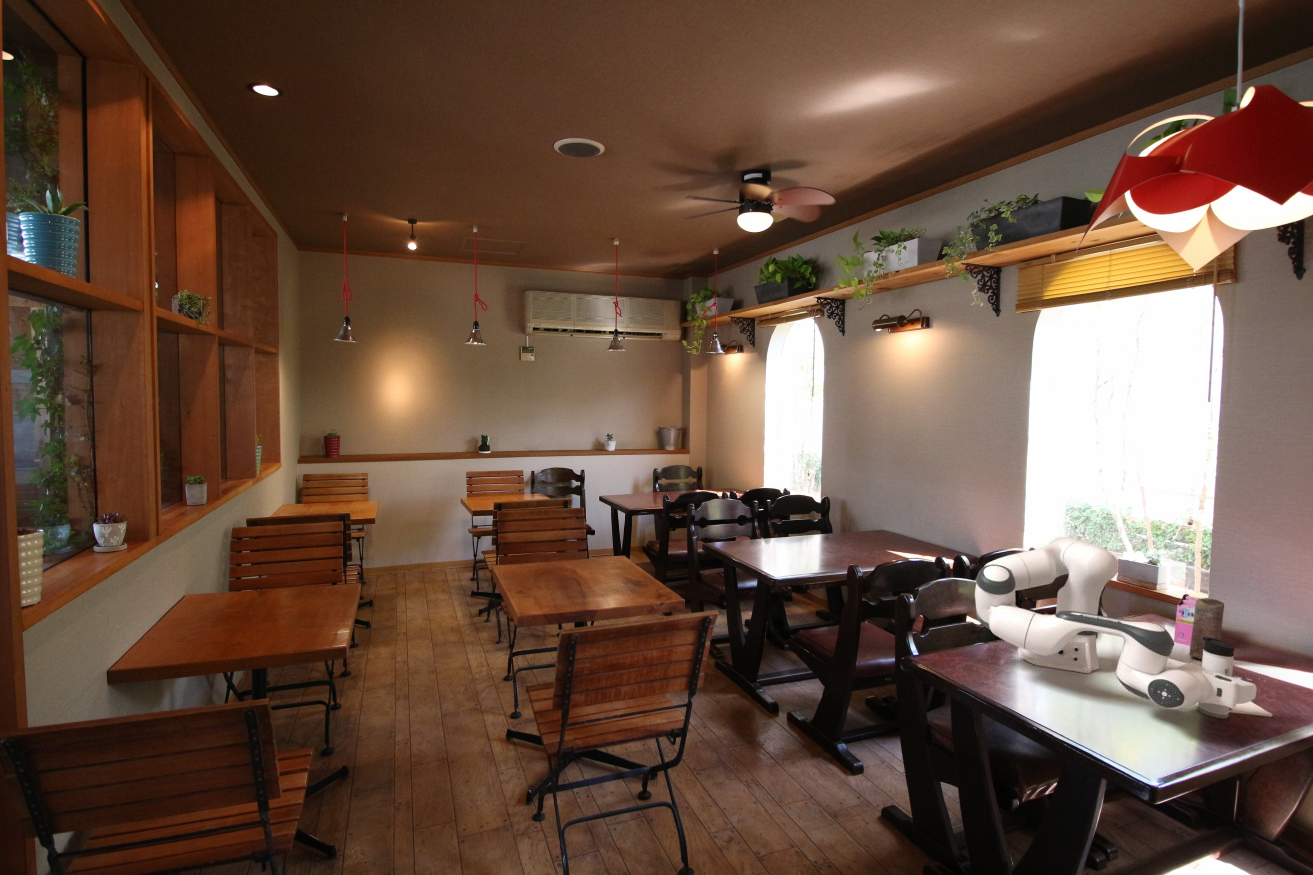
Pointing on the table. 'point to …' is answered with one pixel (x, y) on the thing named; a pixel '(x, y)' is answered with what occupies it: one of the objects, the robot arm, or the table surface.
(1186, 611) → the gum box
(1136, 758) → the table surface
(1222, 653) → the travel mug
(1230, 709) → the mat
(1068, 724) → the table surface
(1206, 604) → the candle
